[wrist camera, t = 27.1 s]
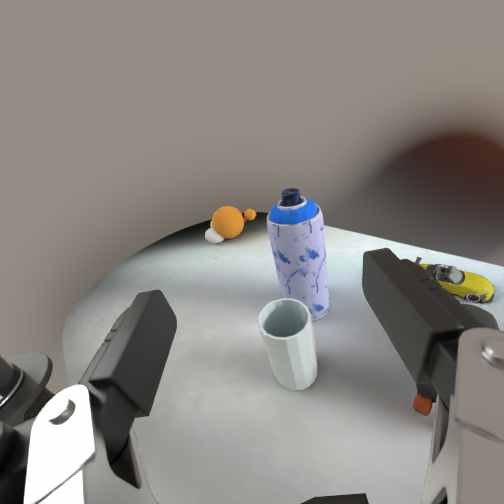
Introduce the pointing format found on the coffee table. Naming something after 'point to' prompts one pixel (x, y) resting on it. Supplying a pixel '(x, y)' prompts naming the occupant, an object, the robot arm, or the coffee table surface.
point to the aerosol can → (300, 251)
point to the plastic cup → (289, 342)
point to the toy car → (461, 282)
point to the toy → (227, 223)
